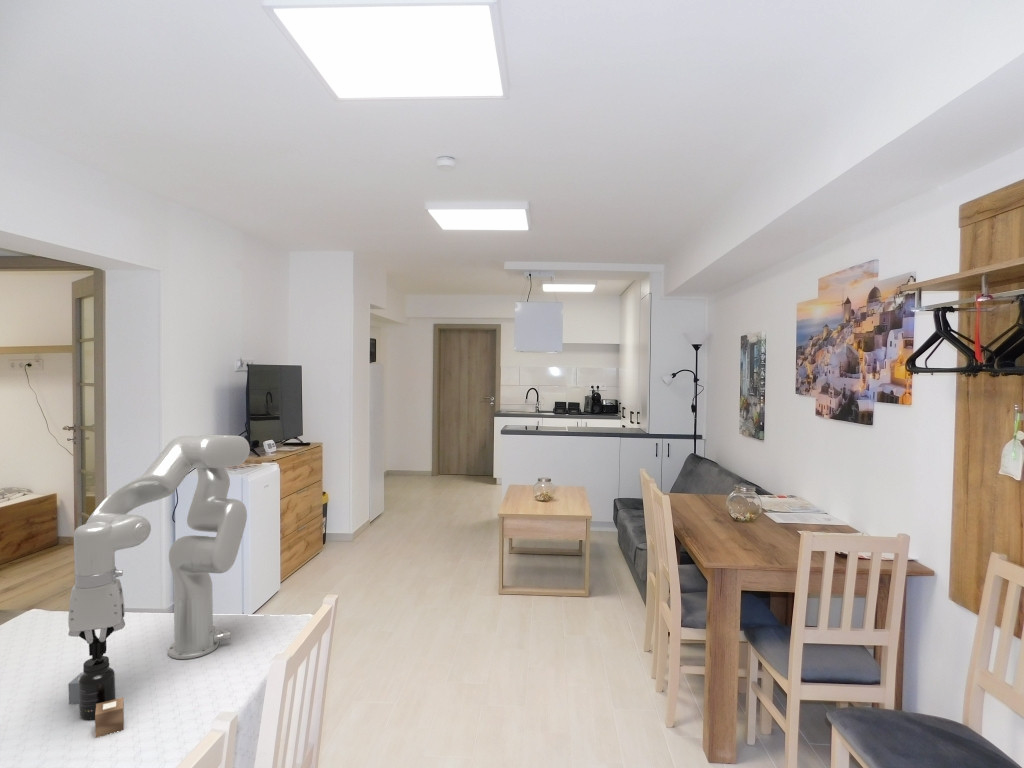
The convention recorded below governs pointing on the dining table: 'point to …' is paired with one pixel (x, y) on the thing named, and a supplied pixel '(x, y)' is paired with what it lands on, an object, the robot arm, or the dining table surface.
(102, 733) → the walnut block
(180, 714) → the dining table surface
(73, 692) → the slate grey block
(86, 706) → the supplement bottle
